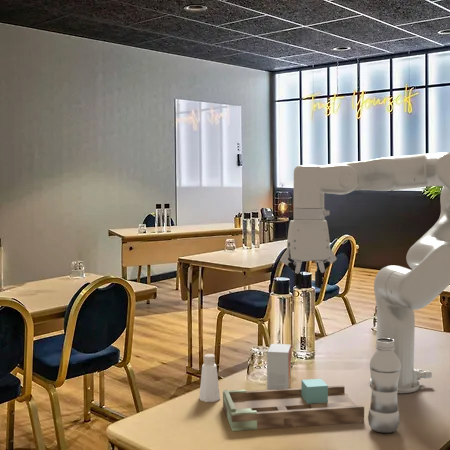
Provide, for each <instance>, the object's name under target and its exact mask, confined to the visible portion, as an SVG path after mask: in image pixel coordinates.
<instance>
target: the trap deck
mask: <svg viewBox="0 0 450 450" xmlns="http://www.w3.org/2000/svg"><path fill="white" fill-rule="evenodd" d="M345 390H346V389H345V386H344V384H343V385H342V384H341V385H328V402H325V403H310V404H307V403H306V401H305V400H304V399H303V397H302V396H301V387H290V388H289V389H273V390H267V389H262V390H260V389H258V390H247V389H234V390H231V389H230V390H229V389H223V390H222V407H223V410H224V413H225V415H226V419H227V421H228V423H229V426H230V429H231V431H232V432H236V431H237V432H239V431H250V430H251V431H253V430H266V429H267V430H268V429H278V428H279V429H281V428H282V427H283V428H297V427H296V426H298V427H309V426H310V427H311V426H324V425H336V424H337V425H338V424H340V425H341V424H351V423H352V424H355V423H365V406H364V405H363V404H360V405H359V404H358V405H357V404H356V403H355V402H354V401H353V400H352V399H351V398H350V397H349V395H347V394H346V392H345Z"/></svg>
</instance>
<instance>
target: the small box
mask: <svg viewBox="0 0 450 450" xmlns="http://www.w3.org/2000/svg"><path fill="white" fill-rule="evenodd" d="M266 383H267V384H266V385H267V387H266V388H267V389H266V390H273V389H290V388H291V383H292V344H287V343H270V345H269V347H268V349H267V352H266Z"/></svg>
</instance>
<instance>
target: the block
mask: <svg viewBox="0 0 450 450" xmlns="http://www.w3.org/2000/svg"><path fill="white" fill-rule="evenodd" d="M328 386H329V385H328V384H327V383H326V382H325V381H324V380H323V379H322V378H315V379H314V378H311V379H309V378H308V379H301V387H300V388H301V396H302V397H303V399H304V400H305V401H306V403H307V404H310V403H325V402H328Z"/></svg>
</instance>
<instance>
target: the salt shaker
mask: <svg viewBox="0 0 450 450" xmlns="http://www.w3.org/2000/svg"><path fill="white" fill-rule="evenodd" d="M215 358H216V356H215V354H213V353H206V354H204V355H203V364H202V366H201V375H200V376H201V377H200V384H199V385H200V386H199V387H200V389H199V396H198V397H199V401H202V402H205V403H215V402H217V401H220V399H221V396H220V388H219V387H220V383H219V377H218V369H217V364H216V362H215V361H216V360H215Z"/></svg>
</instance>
